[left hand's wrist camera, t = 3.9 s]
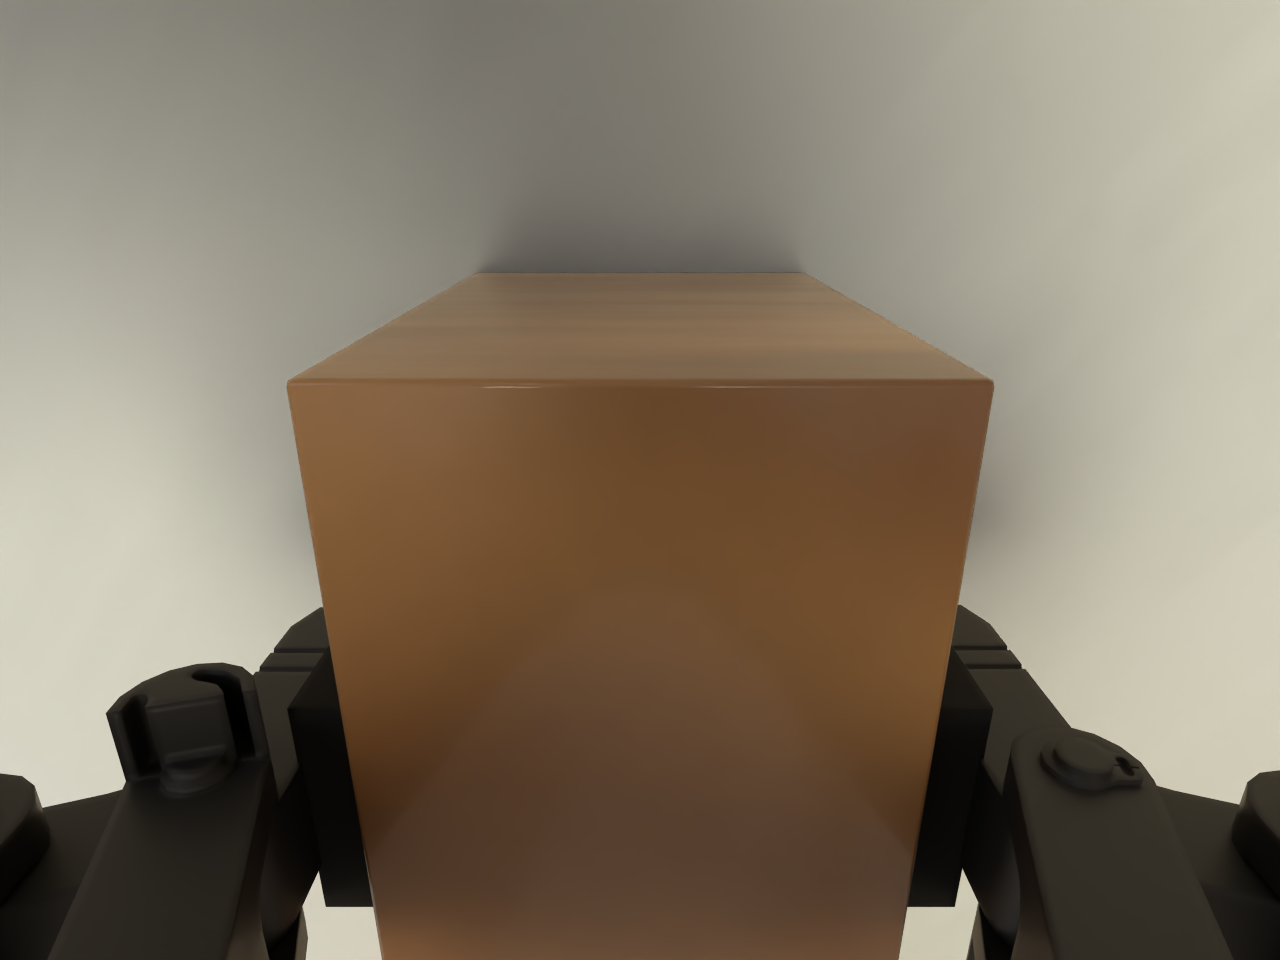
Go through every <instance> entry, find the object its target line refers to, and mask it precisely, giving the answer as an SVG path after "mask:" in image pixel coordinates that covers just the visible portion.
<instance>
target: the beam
mask: <svg viewBox="0 0 1280 960" xmlns="http://www.w3.org/2000/svg"><path fill="white" fill-rule="evenodd" d="M993 391H994V383H993V380H991V379H989V378H987V377H986V376H984V375H982V374H980V373H979V372H977V371H975V370H973V369H972V368H970V367H968V366H966V365H965V364H963V363H961V362H959V361H958V360H956V359H954V358H952V357H951V356H949V355H947V354H945V353H944V352H942V351H940V350H938V349H937V348H935V347H933V346H931V345H930V344H928V343H926V342H925V341H923V340H921V339H919V338H918V337H916V336H914V335H912V334H911V333H909V332H907V331H905V330H904V329H902V328H900V327H898V326H897V325H895V324H893V323H891V322H890V321H888V320H886V319H884V318H883V317H881V316H879V315H877V314H876V313H874V312H872V311H870V310H869V309H867V308H865V307H863V306H862V305H860V304H858V303H856V302H855V301H853V300H851V299H849V298H848V297H846V296H844V295H842V294H841V293H839V292H837V291H835V290H834V289H832V288H830V287H828V286H827V285H825V284H823V283H822V282H820V281H818V280H816V279H815V278H813V277H811V276H809V275H808V274H806V273H475V274H473V275H471V276H469V277H468V278H466V279H464V280H462V281H461V282H459V283H457V284H455V285H454V286H452V287H450V288H449V289H447V290H445V291H443V292H442V293H440V294H438V295H436V296H435V297H433V298H431V299H429V300H428V301H426V302H424V303H422V304H421V305H419V306H417V307H415V308H414V309H412V310H410V311H408V312H407V313H405V314H403V315H401V316H400V317H398V318H396V319H394V320H393V321H391V322H389V323H388V324H386V325H384V326H382V327H381V328H379V329H377V330H375V331H374V332H372V333H370V334H368V335H367V336H365V337H363V338H361V339H360V340H358V341H356V342H354V343H353V344H351V345H349V346H347V347H346V348H344V349H342V350H340V351H339V352H337V353H335V354H334V355H332V356H330V357H328V358H327V359H325V360H323V361H321V362H320V363H318V364H316V365H314V366H313V367H311V368H309V369H307V370H306V371H304V372H302V373H300V374H299V375H297V376H295V377H293V378H292V379H290V380H288V382H287V392H288V398H289V404H290V410H291V416H292V422H293V428H294V434H295V440H296V446H297V452H298V458H299V464H300V470H301V476H302V482H303V488H304V494H305V500H306V506H307V512H308V518H309V524H310V530H311V536H312V542H313V548H314V554H315V560H316V566H317V572H318V578H319V584H320V590H321V596H322V602H323V608H324V614H325V620H326V626H327V632H328V638H329V644H330V650H331V656H332V662H333V668H334V674H335V680H336V686H337V692H338V698H339V704H340V710H341V716H342V722H343V728H344V734H345V740H346V746H347V752H348V758H349V764H350V770H351V776H352V782H353V788H354V794H355V800H356V806H357V812H358V818H359V824H360V830H361V836H362V842H363V848H364V854H365V860H366V866H367V872H368V878H369V884H370V890H371V896H372V902H373V908H374V914H375V920H376V926H377V932H378V938H379V944H380V950H381V956H382V960H898V959H899V953H900V947H901V941H902V935H903V929H904V923H905V917H906V911H907V905H908V899H909V893H910V887H911V881H912V875H913V869H914V863H915V857H916V851H917V845H918V840H919V834H920V828H921V822H922V816H923V810H924V804H925V798H926V792H927V786H928V780H929V774H930V768H931V762H932V756H933V750H934V744H935V738H936V732H937V726H938V720H939V714H940V708H941V702H942V696H943V690H944V684H945V678H946V672H947V666H948V660H949V654H950V648H951V642H952V636H953V630H954V624H955V618H956V612H957V606H958V600H959V594H960V588H961V582H962V576H963V570H964V564H965V558H966V552H967V546H968V540H969V534H970V528H971V522H972V516H973V510H974V505H975V499H976V493H977V487H978V481H979V475H980V469H981V463H982V457H983V451H984V445H985V439H986V433H987V427H988V421H989V415H990V409H991V403H992V397H993Z"/></svg>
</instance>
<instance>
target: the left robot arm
mask: <svg viewBox="0 0 1280 960" xmlns="http://www.w3.org/2000/svg"><path fill="white" fill-rule="evenodd" d="M106 716H107V719H108V722H109V726H110V729H111V732H112V736H113V739H114V742H115V746H116V749H117V753H118V756H119V759H120V763H121V766H122V769H123V773H124V776H125V779H126V783H125V785H124V787H123V790H119V791H116V792H112V793H109V794H104V795H100V796H95V797H91V798H86V799H81V800H77V801H72V802H68V803H63V804H58V805H54V806H49V807H45V808H42V806H41V803H40V800H39V797H38V795H37V792H36V789H35V786H34V785H33V784H31V783H30V782H29V781H28V780H26V779H25V778H24V777H22V776H16V775H8V774H0V960H305V959H306V950H307V941H308V936H307V929H306V922H305V917H304V912H303V907H302V906H303V903H304V901H305V899H306V897H307V895H308V893H309V890H310V888H311V886H312V884H313V882H314V880H315V878H316V875H317V873H318V871H319V874H320V879H321V884H322V890H323V895H324V900H325V905H326V907H373V902H372V896H371V890H370V884H369V878H368V872H367V866H366V860H365V854H364V848H363V842H362V836H361V830H360V824H359V818H358V812H357V806H356V800H355V794H354V788H353V782H352V776H351V770H350V764H349V758H348V752H347V746H346V740H345V734H344V728H343V722H342V716H341V710H340V704H339V698H338V692H337V686H336V680H335V674H334V668H333V662H332V656H331V650H330V644H329V638H328V632H327V626H326V620H325V614H324V608H323V607H320V608H319V609H317V610H316V611H314V612H313V613H311V614H309V615H308V616H306V617H305V618H303V619H302V620H300V621H299V622H297V623H296V624H294V625H293V626H291V627H290V629H289V630H288V631H287V633H286V634H285V635H284V636H283V638H282V639H281V640H280V642H279V643H278V644H277V645H276V647H275V648H274V653H270V654H269V656H268V657H267V658H266V660H265V661H264V662H263V663H262V665H261V666H260V670H259V672H255V674H254V675H252V674H250V673H249V672H248V671H247V670H245V669H244V668H243V667H240V666H236V665H231V664H226V663H207V664H195V665H191V666H187V667H182V668H178V669H174V670H170V671H167V672H165V673H162V674H160V675H158V676H155V677H153V678H151V679H148V680H146V681H143V682H142V683H140V684H139V685H137V686H136V687H134V688H133V689H131V690H130V691H128V692H127V693H125V694H123V695H122V696H120V697H119V699H118V700H117V701H116V702H115V703H114V704H113V706H112V707H111V708H110V709H109V710H108V711H107V713H106ZM962 868H963V870H964V872H965V875H966V877H967V879H968V881H969V883H970V885H971V887H972V890H973V892H974V894H975V896H976V898H977V900H978V907H977V912H976V917H975V921H974V926H973V931H972V935H971V940H970V945H969V950H968V954H967V959H966V960H1280V771H1271V772H1263V773H1259V774H1258V775H1256V776H1255V777H1254V778H1252V779H1251V780H1250V781H1249V782H1247V785H1246V788H1245V791H1244V794H1243V796H1242V799H1241V802H1240V805H1238V804H1233V803H1229V802H1224V801H1219V800H1215V799H1210V798H1206V797H1201V796H1196V795H1192V794H1187V793H1182V792H1178V791H1173V790H1170V789H1166V788H1163V787H1159V786H1156V784H1155V781H1154V780H1153V778H1152V777H1151V776H1150V774H1149V773H1148V771H1147V770H1146V769H1145V767H1144V766H1143V765H1142V763H1141V762H1140V761H1138V760H1137V759H1136V758H1134V757H1133V756H1132V755H1130V754H1129V753H1128V752H1127V751H1125V750H1124V749H1123V748H1121V747H1120V746H1118V745H1116V744H1114V743H1112V742H1110V741H1108V740H1106V739H1103V738H1101V737H1099V736H1097V735H1095V734H1092V733H1088V732H1085V731H1081V730H1077V729H1074V728H1071V727H1070V726H1069V724H1068V723H1067V722H1066V721H1065V719H1064V718H1063V717H1062V715H1061V714H1060V713H1059V712H1058V710H1057V709H1056V708H1055V707H1054V705H1053V704H1052V703H1051V701H1050V700H1049V699H1048V698H1047V696H1046V695H1045V694H1044V692H1043V691H1042V690H1041V689H1040V687H1039V686H1038V685H1037V684H1036V682H1035V681H1034V680H1033V678H1032V677H1031V676H1030V675H1029V673H1028V672H1027V671H1026V670H1025V669H1022V667H1021V663H1020V662H1019V661H1018V659H1017V658H1016V657H1015V655H1014V654H1013V653H1012V652H1011V650H1007V645H1006V644H1005V643H1004V641H1003V640H1002V639H1001V638H1000V636H999V635H998V634H997V633H996V631H995V630H994V629H993V627H992V626H991V625H990V624H989V623H988V622H986V621H985V620H983V619H981V618H980V617H978V616H977V615H975V614H974V613H972V612H971V611H969V610H968V609H966V608H965V607H963V606H961V605H958V606H957V612H956V618H955V624H954V630H953V636H952V642H951V648H950V654H949V660H948V666H947V672H946V678H945V684H944V690H943V696H942V702H941V708H940V714H939V720H938V726H937V732H936V738H935V744H934V750H933V756H932V762H931V768H930V774H929V780H928V786H927V792H926V798H925V804H924V810H923V816H922V822H921V828H920V834H919V840H918V845H917V851H916V857H915V863H914V869H913V875H912V881H911V887H910V893H909V899H908V905H907V907H955V902H956V897H957V892H958V887H959V882H960V877H961V872H962Z"/></svg>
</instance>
